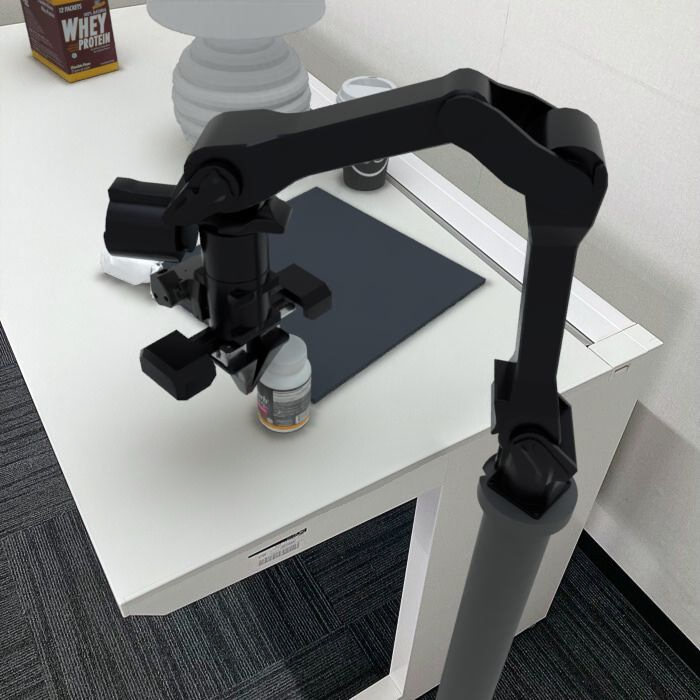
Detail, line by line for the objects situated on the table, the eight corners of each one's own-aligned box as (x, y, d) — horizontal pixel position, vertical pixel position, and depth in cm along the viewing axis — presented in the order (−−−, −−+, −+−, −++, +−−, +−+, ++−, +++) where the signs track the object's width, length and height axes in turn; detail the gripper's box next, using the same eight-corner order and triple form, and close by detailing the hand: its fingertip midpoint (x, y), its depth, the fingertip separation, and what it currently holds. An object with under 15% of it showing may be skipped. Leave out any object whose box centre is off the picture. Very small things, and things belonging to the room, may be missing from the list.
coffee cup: (405, 175, 125) (414, 84, 115) (376, 202, 119) (382, 108, 109) (353, 158, 129) (357, 68, 119) (322, 184, 122) (323, 90, 112)
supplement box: (70, 83, 145) (51, -5, 134) (32, 56, 153) (12, -30, 143) (120, 70, 150) (107, -17, 140) (81, 44, 159) (65, -40, 148)
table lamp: (249, 212, 116) (233, -93, 89) (132, 155, 127) (86, -132, 100) (354, 149, 131) (367, -128, 104) (241, 103, 142) (226, -158, 115)
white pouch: (179, 279, 104) (117, 245, 105) (171, 251, 98) (105, 216, 99) (157, 307, 102) (94, 272, 103) (148, 281, 96) (80, 244, 97)
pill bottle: (253, 402, 88) (249, 334, 81) (303, 392, 89) (303, 325, 82) (264, 439, 84) (261, 372, 77) (317, 428, 85) (318, 361, 78)
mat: (485, 282, 106) (486, 278, 105) (314, 403, 88) (314, 400, 87) (316, 189, 121) (316, 186, 121) (142, 276, 104) (141, 273, 103)
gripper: (255, 188, 77) (261, 312, 88) (88, 268, 67) (118, 397, 77) (337, 235, 72) (333, 361, 82) (170, 330, 61) (190, 460, 72)
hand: (245, 391), depth 78 cm, fingers closed
